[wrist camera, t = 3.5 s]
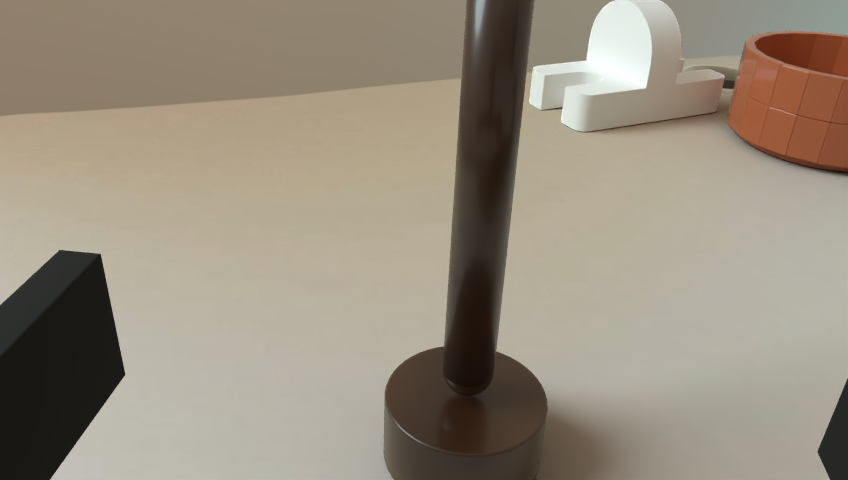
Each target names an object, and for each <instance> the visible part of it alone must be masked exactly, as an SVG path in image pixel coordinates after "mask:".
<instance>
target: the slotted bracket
mask: <svg viewBox="0 0 848 480" xmlns="http://www.w3.org/2000/svg"><path fill="white" fill-rule="evenodd" d="M681 49H682V43H681V33H680V29H679V25H678V21H677V19H676V17H675V15H674V14H673V12H672V10H671V9H670V8H669V7H668V6H667V5H666V4H665V3H664V2H662V1H661V0H615V1H612V2H610V3H608V4H607V5H606V6H604V7H603V8H602V10H601V11H600V13H599V14H598V15H597V17H596V19H595V22H594V24H593V26H592V30H591V35H590V40H589V46H588V53H587V59H586V61H578V62H569V63H560V64H551V65H541V66H535V67H533V73H532V82H531V91H530V100H529V103H530V104H531V105H533V106H534V107H536V108H538V109H539V110H545V109H553V108H560V107H563V110H562V117H561V123H563V124H565V125H566V126H568V127H570V128H571V129H573V130H576V131H582V132H589V131H595V130H602V129H608V128H615V127H621V126H628V125H634V124H641V123H648V122H654V121H661V120H667V119H674V118H680V117H687V116H693V115H700V114H706V113H713V112H716V111H717V107H718V103H719V99H720V94H721V90H722V86H723V82H724V78H725V76H724V75H723V74H720V73H718V72H715V71H713V70H710V69H704V70H695V71H687V72H682V69H683V64H684V60H685V59H682V58H681Z"/></svg>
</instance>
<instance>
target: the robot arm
mask: <svg viewBox="0 0 848 480" xmlns="http://www.w3.org/2000/svg"><path fill="white" fill-rule="evenodd" d="M124 376H125V371H124V366H123V361H122V356H121V352H120V347H119V342H118V337H117V332H116V327H115V322H114V317H113V312H112V307H111V302H110V298H109V293H108V288H107V283H106V278H105V273H104V268H103V263H102V258H101V254H95V253H85V252H74V251H64V250H59V251H58V252H57V253H56V254H55V255H54V256H53V257H52V258H51V259H50V260H48V261H47V262H46V263H45V264H44V265H43V266H42V267H41V268H40V269H39V270H38V271H37V272H36V273H34V274H33V275H32V276H31V277H30V278H29V279H28V280H27V281H26V282H25V283H24V284H23V285H22V286H20V287H19V288H18V289H17V290H16V291H15V292H14V293H13V294H12V295H11V296H10V297H9V298H8V299H7V300H5V301H4V302H3V303H2V304H1V305H0V480H50V479H51V477H52V476H53V474H54V473H55V472H56V470H57V469H58V468H59V466H60V465H61V463H62V462H63V461H64V459H65V458H66V456H67V455H68V454H69V452H70V451H71V449H72V448H73V447H74V445H75V444H76V442H77V441H78V440H79V438H80V437H81V435H82V434H83V433H84V431H85V430H86V429H87V427H88V426H89V424H90V423H91V422H92V420H93V419H94V417H95V416H96V415H97V413H98V412H99V410H100V409H101V408H102V406H103V405H104V403H105V402H106V401H107V399H108V398H109V396H110V395H111V394H112V392H113V391H114V390H115V388H116V387H117V385H118V384H119V383H120V381H121V380H122V378H123V377H124ZM818 454H819V456H820V458H821V460H822V463H823V465H824V467H825V469H826V471H827V473H828V476H829V478H830V480H848V379H847V381H846V384H845V386H844V389H843V391H842V394H841V396H840V398H839V401H838V403H837V406H836V408H835V411H834V413H833V415H832V418H831V420H830V423H829V425H828V428H827V430H826V432H825V435H824V437H823V440H822V442H821V444H820V447H819V449H818Z"/></svg>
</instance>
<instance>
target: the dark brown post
mask: <svg viewBox="0 0 848 480" xmlns="http://www.w3.org/2000/svg"><path fill="white" fill-rule="evenodd" d="M533 9H534V0H467V4H466V20H465V34H464V50H463V66H462V80H461V96H460V111H459V126H458V142H457V157H456V172H455V188H454V203H453V218H452V234H451V249H450V264H449V280H448V295H447V310H446V326H445V341H444V347H437V348H433V349H429V350H426V351H423V352H420V353H418V354H416V355H414V356H412V357H410V358H409V359H407V360H406V361H404V362H403V363H402V364H401V365H399V366H398V367H397V369H396V370H395V371H394V372H393V374H392V375H391V377H390V378H389V380H388V383H387V385H386V389H385V409H384V458H385V462H386V465H387V468H388V470H389V472H390V474H391V476H392V477H393V479H394V480H534V479H535V477H536V474H537V471H538V467H539V461H540V455H541V449H542V442H543V436H544V430H545V424H546V417H547V410H548V405H547V398H546V394H545V392H544V390H543V387H542V385H541V384H540V382H539V381H538V379H537V378H536V377H535V376H534V374H533V373H532V372H531V371H530V370H528V369H527V368H526V367H525V366H524V365H522V364H521V363H519V362H518V361H516V360H514V359H513V358H511V357H509V356H506V355H504V354H502V353H499V352H496V349H497V339H498V330H499V321H500V312H501V303H502V293H503V284H504V275H505V266H506V257H507V248H508V238H509V229H510V220H511V211H512V202H513V193H514V183H515V174H516V165H517V156H518V147H519V137H520V128H521V119H522V110H523V101H524V92H525V82H526V73H527V64H528V54H529V46H530V37H531V27H532V18H533Z"/></svg>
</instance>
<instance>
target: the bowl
mask: <svg viewBox="0 0 848 480" xmlns="http://www.w3.org/2000/svg"><path fill="white" fill-rule="evenodd" d="M727 121H728V125H729V126H730V127H731V128H732V129H733V130H734V131H735V132H736V133H737V134H738V135H739V136H741V137H742V138H743V139H744V140H745V141H746V142H747V143H749V144H750V145H752V146H754V147H755V148H757V149H759V150H761V151H763V152H765V153H768V154H770V155H773V156H775V157H778V158H781V159H784V160H787V161H790V162H794V163H797V164H801V165H805V166H810V167H815V168H821V169H827V170H834V171H844V172H848V35H841V34H832V33H822V32H805V31H780V32H767V33H763V34H758V35H754V36H751V37H750V38H749V39H748V40H746V41H745V45H744V49H743V52H742V56H741V60H740V64H739V68H738V72H737V76H736V81H735V84H734V88H733V92H732V96H731V100H730V104H729V108H728V112H727Z"/></svg>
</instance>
